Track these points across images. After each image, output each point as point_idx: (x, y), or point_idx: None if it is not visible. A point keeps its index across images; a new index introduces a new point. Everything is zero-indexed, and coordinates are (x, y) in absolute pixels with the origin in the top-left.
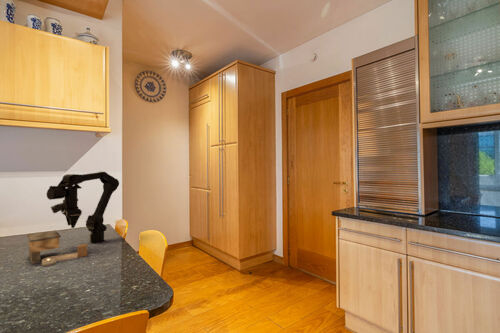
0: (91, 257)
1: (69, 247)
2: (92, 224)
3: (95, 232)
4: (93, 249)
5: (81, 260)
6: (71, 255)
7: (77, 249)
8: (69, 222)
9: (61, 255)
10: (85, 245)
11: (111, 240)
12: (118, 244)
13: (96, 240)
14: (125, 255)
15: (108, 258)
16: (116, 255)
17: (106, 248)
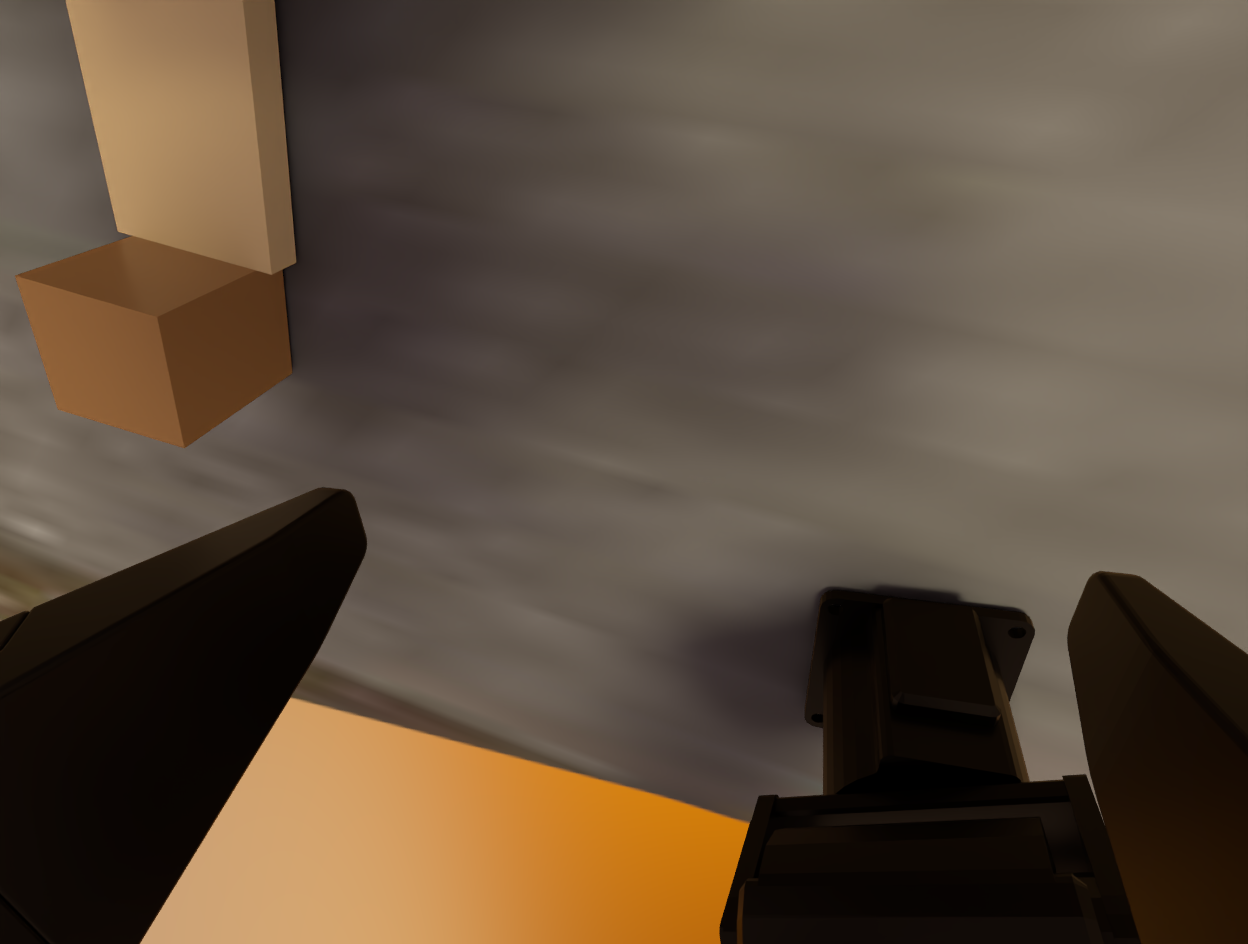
0: None
1: (945, 268)
2: (789, 931)
3: (849, 778)
4: (476, 487)
5: (30, 237)
6: (139, 157)
7: (56, 264)
8: (1128, 718)
9: (209, 7)
10: (80, 396)
11: (784, 761)
12: (512, 715)
13: (836, 660)
14: (67, 586)
15: (20, 464)
16: (95, 544)
17: (420, 589)
